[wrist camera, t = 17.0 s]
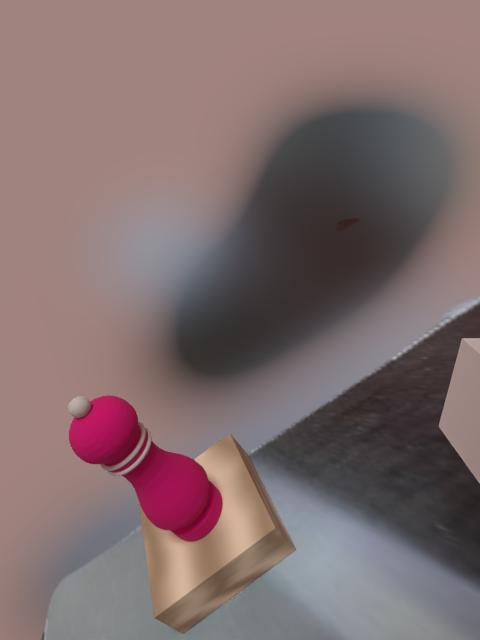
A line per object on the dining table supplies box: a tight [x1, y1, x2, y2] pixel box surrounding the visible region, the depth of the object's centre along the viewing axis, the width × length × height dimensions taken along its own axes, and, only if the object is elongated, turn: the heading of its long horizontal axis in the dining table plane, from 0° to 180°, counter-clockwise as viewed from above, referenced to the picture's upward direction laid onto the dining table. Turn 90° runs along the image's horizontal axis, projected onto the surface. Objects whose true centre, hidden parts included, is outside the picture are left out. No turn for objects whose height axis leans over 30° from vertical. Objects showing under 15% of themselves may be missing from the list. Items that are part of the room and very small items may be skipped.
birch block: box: [138, 434, 296, 634], centre depth 44 cm, size 14×14×5 cm
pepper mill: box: [68, 396, 222, 541], centre depth 37 cm, size 7×7×20 cm
